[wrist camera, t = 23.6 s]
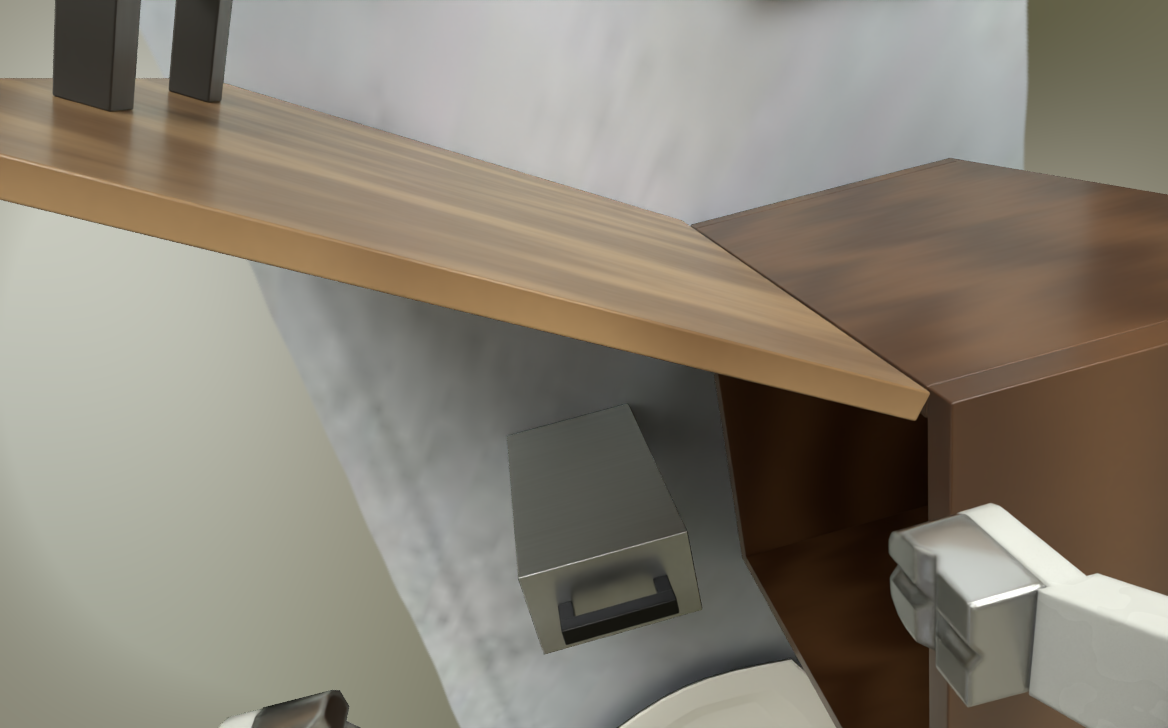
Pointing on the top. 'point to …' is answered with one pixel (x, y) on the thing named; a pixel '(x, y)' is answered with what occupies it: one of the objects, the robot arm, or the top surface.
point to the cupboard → (952, 408)
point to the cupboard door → (395, 212)
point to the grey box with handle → (596, 531)
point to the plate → (740, 701)
